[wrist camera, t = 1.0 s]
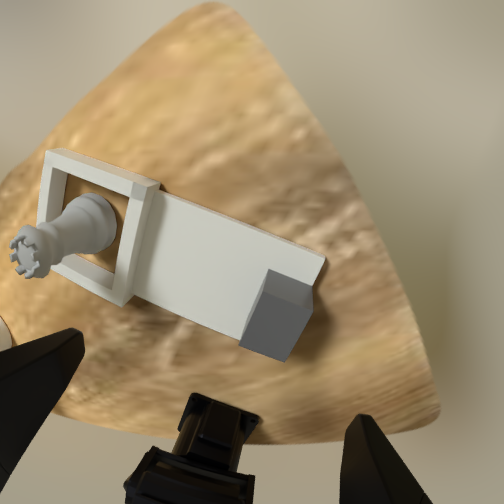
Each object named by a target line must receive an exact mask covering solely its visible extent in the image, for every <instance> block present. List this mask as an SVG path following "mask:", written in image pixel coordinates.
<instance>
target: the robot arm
mask: <svg viewBox="0 0 504 504" xmlns="http://www.w3.org/2000/svg"><path fill="white" fill-rule="evenodd" d="M84 354H85V345H84V337H83V333H82V332H81V331H79V330H77V329H75V328H68V329H65V330H62V331H59V332H56V333H54V334H51V335H48V336H45V337H42V338H39V339H36V340H33V341H30V342H27V343H24V344H21V345H18V346H15V347H12V348H9V349H6V350H3V351H0V493H1V491H2V489H3V488H4V486H5V484H6V482H7V481H8V479H9V477H10V475H11V474H12V472H13V470H14V469H15V467H16V465H17V463H18V462H19V460H20V459H21V457H22V455H23V454H24V452H25V451H26V449H27V447H28V446H29V444H30V443H31V441H32V439H33V438H34V436H35V435H36V433H37V432H38V430H39V429H40V427H41V426H42V424H43V423H44V421H45V419H46V418H47V416H48V415H49V413H50V412H51V411H52V409H53V408H54V406H55V405H56V403H57V402H58V400H59V399H60V397H61V396H62V394H63V393H64V391H65V390H66V388H67V386H68V384H69V383H70V381H71V379H72V377H73V375H74V373H75V371H76V370H77V368H78V366H79V364H80V362H81V360H82V359H83V357H84ZM258 422H259V417H258V416H257V415H254V414H251V413H248V412H245V411H242V410H239V409H237V408H234V407H231V406H228V405H226V404H223V403H220V402H218V401H215V400H212V399H210V398H207V397H205V396H202V395H200V394H197V393H191V395H190V397H189V399H188V402H187V405H186V407H185V410H184V413H183V415H182V418H181V421H180V423H179V426H178V431H179V432H180V433H179V436H178V438H177V441H176V443H175V446H174V448H173V450H172V453H169V452H166V451H163V450H161V449H159V448H158V447H155V446H152V447H151V449H150V450H149V452H146V453H145V455H144V457H143V459H142V460H141V462H140V463H139V465H138V466H137V468H136V470H135V471H134V472H133V473H132V474H131V475H130V476H129V477H128V478H127V480H126V481H125V482H124V485H123V487H124V489H125V491H126V498H125V504H253V495H254V484H255V476H254V475H250V474H249V475H245V474H241V473H237V467H238V463H239V459H240V455H241V450H242V446H243V444H244V443H245V441H246V440H247V438H248V437H249V436H250V434H251V433H252V431H253V430H254V428H255V427H256V425H257V424H258ZM339 504H433V503H432V502H431V500H430V499H429V498H428V496H427V495H426V493H424V490H423V489H422V488H421V486H420V485H419V483H418V482H417V480H416V479H415V478H414V476H413V475H412V473H411V472H410V470H409V469H408V468H407V466H406V465H405V463H404V462H403V460H402V459H401V458H400V456H399V455H398V453H397V452H396V450H395V449H394V448H393V446H392V445H391V443H390V442H389V441H388V439H387V438H386V436H385V435H384V433H383V432H382V430H381V429H380V428H379V426H378V425H377V423H376V422H375V421H374V419H373V418H372V416H370V415H367V414H358V415H356V417H355V418H354V419H353V421H352V422H351V424H350V425H349V426H348V428H347V430H346V433H345V440H344V449H343V456H342V464H341V472H340V498H339Z"/></svg>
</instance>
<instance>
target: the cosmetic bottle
mask: <svg viewBox="0 0 504 504" xmlns="http://www.w3.org/2000/svg"><path fill="white" fill-rule="evenodd" d="M11 346H12V339H11V335H10V332H9V330H8V328H7V326H6V324H5V322H4V321H3V319H2V318H1V317H0V351H3V350H6V349H9V348H11Z"/></svg>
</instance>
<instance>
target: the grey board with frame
mask: <svg viewBox="0 0 504 504" xmlns="http://www.w3.org/2000/svg"><path fill="white" fill-rule="evenodd" d="M68 173H70V174H72V175H75V176H77V177H80V178H82V179H85V180H87V181H90V182H92V183H95V184H98V185H100V186H103V187H105V188H108V189H110V190H113V191H115V192H118V193H120V194H123V195H125V196H128V197H130V199H129V203H128V207H127V212H126V216H125V221H124V226H123V230H122V235H121V241H120V246H119V251H118V257H117V262H116V268H115V274H113V273H111V272H109V271H107V270H105V269H103V268H101V267H99V266H97V265H95V264H93V263H91V262H89V261H87V260H85V259H84V258H82V257H80V256H78V255H76V254H71V255H68V256H65V257H63V259H62V261H61V262H60V263H59V264H58V265H51V268H50V269H52V270H54V271H55V272H57V273H59V274H60V275H62V276H64V277H66V278H67V279H69V280H71V281H73V282H75V283H76V284H78V285H80V286H82V287H84V288H86V289H87V290H89V291H91V292H93V293H95V294H97V295H99V296H101V297H102V298H104V299H106V300H108V301H110V302H112V303H114V304H116V305H118V306H120V307H123V306H124V305H125V304H126V303H127V302H128V301H129V300H130V299H131V298H132V297H133V296H134V295H136V296H138V297H140V298H143V299H145V300H147V301H149V302H151V303H153V304H155V305H158V306H160V307H162V308H164V309H166V310H169V311H171V312H173V313H175V314H178V315H180V316H182V317H185V318H187V319H189V320H191V321H194V322H196V323H199V324H201V325H203V326H206V327H208V328H210V329H213V330H215V331H218V332H220V333H223V334H225V335H228V336H230V337H233V338H235V339H238V340H240V342H239V346H241V347H244V348H247V349H249V350H252V351H254V352H257V353H260V354H262V355H265V356H268V357H271V358H273V359H276V360H279V361H282V362H285V361H286V359H287V358H288V356H289V354H290V352H291V351H292V349H293V347H294V345H295V344H296V342H297V340H298V338H299V337H300V335H301V333H302V331H303V329H304V328H305V326H306V324H307V322H308V320H309V318H310V317H311V315H312V313H313V292H312V285H313V283H314V281H315V279H316V277H317V275H318V273H319V271H320V269H321V267H322V265H323V263H324V261H325V255H322V254H320V253H317V252H315V251H313V250H310V249H308V248H305V247H303V246H300V245H298V244H296V243H293V242H291V241H288V240H286V239H283V238H281V237H278V236H276V235H273V234H271V233H268V232H266V231H264V230H261V229H259V228H256V227H254V226H251V225H249V224H246V223H244V222H241V221H238V220H236V219H233V218H231V217H228V216H226V215H223V214H221V213H218V212H216V211H213V210H211V209H208V208H205V207H203V206H200V205H198V204H195V203H193V202H190V201H187V200H185V199H182V198H180V197H177V196H174V195H172V194H169V193H166V192H164V191H161V190H159V188H160V184H161V182H158V181H155V180H153V179H150V178H147V177H145V176H142V175H139V174H136V173H134V172H131V171H128V170H125V169H122V168H120V167H117V166H114V165H111V164H108V163H106V162H103V161H100V160H97V159H94V158H91V157H88V156H86V155H83V154H80V153H77V152H74V151H71V150H68V149H65V148H58V149H51V150H46V154H45V160H44V166H43V172H42V179H41V186H40V194H39V203H38V213H37V225H36V227H37V226H38V225H39V224H40V223H41V222H48V223H49V222H51V221H53V220H55V219H56V218H58V217H59V216H61V214H62V206H63V199H64V193H65V186H66V180H67V175H68Z"/></svg>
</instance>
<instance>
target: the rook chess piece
mask: <svg viewBox="0 0 504 504" xmlns="http://www.w3.org/2000/svg"><path fill="white" fill-rule="evenodd" d="M116 229H117V223H116V217H115V213H114V211H113V209H112V207H111V205H110V204H109V203H108V202H107V201H106V200H105V199H104V198H103V197H102V196H100V195H98V194H95V193H86V194H82V195H81V196H80V197H76V198H75V199H73V200H72V201H71V202H70V203H69V204H68V205H67V206H66V208H65V210H64V211H63V212H62V215H61V216H59V217H58V218H56V219H55V220H53V221H51V222H49V223H48V222H41V223H40V224H39V225H38V226H37V227H36V228H35V227H33V226H30V225H26V226H23V227H22V228H21V229H20V230H19V231H18V234H17V236H15V237H14V239H13V240H11V241H10V245H9V247H10V248H11V249H14V252H13V253H11V254H9V255H10V259H11V263H12V262H14V261H16V260H17V262H18V264H19V266H18V267H16V269H15V270H16V271H17V273H18V274H19V275H22V274H23V273H25V274H24V275H25V279H30V278H32V277H35V278H44V277H45V276H46V275H48V273H49V271H50V268H51V265H58V264H59V263H60V262H61V261H62V259H63V257H65V256H68V255H71V254H74V253H83V254H96V253H98V252H99V251H101V250H104V249H106V248H107V247H109V246H110V245H111V244H112V242H113V240H114V239H115V236H116Z"/></svg>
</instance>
